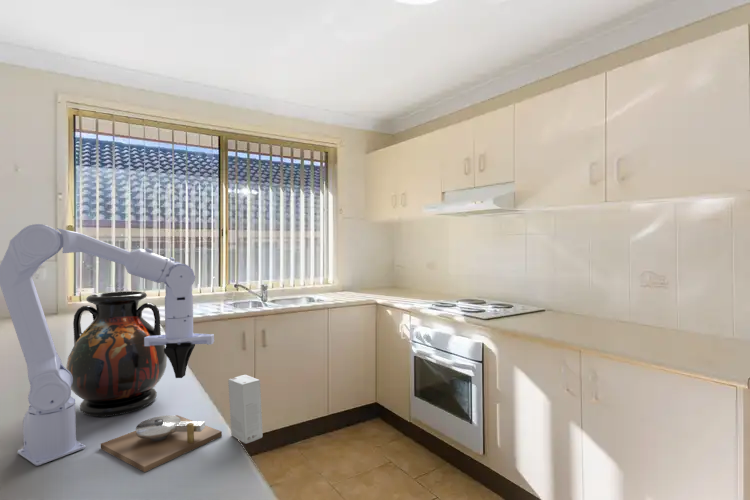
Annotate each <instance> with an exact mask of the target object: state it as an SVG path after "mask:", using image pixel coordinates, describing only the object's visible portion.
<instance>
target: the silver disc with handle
mask: <svg viewBox="0 0 750 500" xmlns="http://www.w3.org/2000/svg"><path fill="white" fill-rule="evenodd" d="M189 423H194V432H201V431H202V430H203V429H204V428H205V426H206V422H205V420H204V421H200V420H199V421H198V420H197V421H196V420H195V421H194V420H192V421H181V419H180V418H179V417H177V416H176V415H167V414H166V415H159V416H154V417H151V418H148V419H146V420H143V421H141V422H140V423H138V424H137V425H136V428H135V431H136V436H137V437H139V438H143V439H153V438H159V437H163V436H167V435H170V434H172V433H174V432H187V424H189Z"/></svg>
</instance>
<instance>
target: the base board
mask: <svg viewBox="0 0 750 500" xmlns="http://www.w3.org/2000/svg"><path fill="white" fill-rule="evenodd" d="M175 416H177V417H179V418H180V419H181V421H193V420H192V419H188V418H187V417H184V416H181V415H178V414H175ZM222 432H223V431H221V430H219V429H217V428H214V427H211V426H208V425H205V428H204V429H203V430H202V431H201V432H194V423H189V424H187V432H174V433H172V434H170V435H167V436H163V437H159V438H153V439H143V438H139V437H137V436H136V430H134V431H130V432H128V433H126V434H123V435H120V436H117V437H115V438H112V439H110V440H107V441H105V442H102V443H100V450H102V451H104V452H106V453H108V454H110V455H111V456H114V457H115V458H117V459H119V460H120V461H123V462H125V463H127V464H129V465H131V466H132V467H134V468H136V469H138V470H140V471H141V472H144V473H146V472H148V471H150V470H153V469H155V468H156V467H158V466H161V465H163V464H165V463H167V462H169V461H171V460H174V459H176V458H179V457H180V456H182V455H184V454H185V455H186V454H187V453H189V452H190V451H194V450H195V449H197V448H200V447H201V446H204V445H206V444H208V443H210V442H212V441H215V440H217V439H218V438H220V437H222V435H223V433H222Z"/></svg>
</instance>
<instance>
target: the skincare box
mask: <svg viewBox="0 0 750 500" xmlns="http://www.w3.org/2000/svg"><path fill="white" fill-rule="evenodd" d="M227 382H228V396H229V397H228V398H229V399H228V400H229V402H228V403H229V417H230V419H229V420H230V433H231V434H230V435H231V437H234V438H235V439H237V440H239V441H240V442H242V443H243V444H249V443H252V442H255V441H257V440H260V439H262V438H263V434H264V433H263V418H262V417H263V416H262V413H263V412H262V396H261V395H262V394H261V380H260V379H258V378H255V377H253V376H250V375H247V374H243V375H242V374H241V375H237V376H235V377H231V378H229V379H228V381H227Z"/></svg>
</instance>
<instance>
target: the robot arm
mask: <svg viewBox="0 0 750 500" xmlns="http://www.w3.org/2000/svg"><path fill="white" fill-rule="evenodd" d="M61 250H62V251H61ZM60 251H61V252H62V254H72V253H73V254H74V253H83V254H87V255H90V256H93V257H97V258H100V259H103V260H107V261H109V262H114V263H116V264H120V265H123V266H124V268H125V270H126V272H127V274H130V275H132V276H135V277H138V278H142V279H145V280H147V281H152V282H153V283H157V284H159V283H160V284H161V283H163V284H164V285H165V288H164V289H165V296H164V324H165V325H164V326H165V328H164V330H165V332H164V333H165V334H161V335H156V336H147V337H145V338H144V346H150V345H165V349H164V353H165V354H166V355H167V359H168V360H169V362H170V365H171V366H172V369H173V372H174V376H175V379H182V378H184V377H185V376H186V372H187V368H188V363H189V360H190V358H191V355H192V352H193V350H194V349H195V346H196V345H208V346H209V345H213V344H214V343H215V334H214V333H210V334H209V333H196V332H195V333H194V296H193V284H194V282H196V275H195V273H194V270H193V268H191V266H189V265H188V264H186V263H181V262H180V261H175V260H176V258H174V257H169V258H168V257H166V256H164V255H163V256H162V255H159V254H157V253H154V252H153V251H154V250H153V249H151V248H148V247H146V248H145V249H143V248H137V249H134V250H131V251H129V250H127V249H124V248H121V247H119V246H116V245H113V244H112V243H111V244H110V243H108V242H106V241H102V240H100V239H98V238H94V237H92V236H89V235H86V234H84V233H81V232H77V231H72V230H68V229H63V228H54V227H52V226H50V225H46V224H43V223H34V224H33V223H32V224H29V225H27V226H25V227H24V228H22V229H21V230H20V231H19V232H17V233H16V235H14V236H13V237H12V238H11V239H10V240H9V243H8V247H7V249H6V252H5V254H4V255H3V257H2V260H1V262H0V289H1V292H2V295H3V298H4V301H5V304H6V306H7V310H8V313H9V316H10V319H11V322H12V325H13V328H14V331H15V334H16V337H17V339H18V342H19V345H20V348H21V349H20V350H21V352H22V354H23V357H24V360H25V363H26V369H27V370H26V371H27V378H28V379H27V380H28V382H29V386H30V389H29V392H28V397H27V401H28V404H29V406H28V408H27V411H26V412H25V414H24V416H23V420H22V424H23V425H22V427H23V428H22V430H23V448H21V449H18V450H17V454H19V455H20V456H21V457H23V458H24V459H26V460H27V461H29V463H31V464H33V465H34V466H36V467H38V466H41V465H44V464H46V463H48V462H51V461H54V460H55V461H56V460H57V459H60V458H62V457H64V456H65V457H66V456H68V455H70V454H73V453H75V452H79V451H81V450H85V448H86V445H85V444H83V443H81V442H80V441H78V440H77V428H76V427H77V422H76V419H77V418H76V398H74V397H73V396H72V395H71V394H72V390H71V386H72V383H73V377H72V374H71V373H70V371H69V370H67V369H66V366H64V364H63V363H62V360H61V357H60V356H59V354H58V351H57V349H56V345H55V343H54V340H53V337H52V334H51V331H50V328H49V324H48V321H47V319H46V316H45V312H44V309H43V306H42V303H41V300H40V297H39V294H38V290H37V288H36V284H35V282H34V279H33V278H34V277H33V276H34V275H35V274H36V273H37V272H38V271H39V269H40V268H41V266H42V265H43V264H44V263H45V262H46V261H47V260H49V259H51V258H53V256H55V255H56V254H58V253H59V252H60Z"/></svg>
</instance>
